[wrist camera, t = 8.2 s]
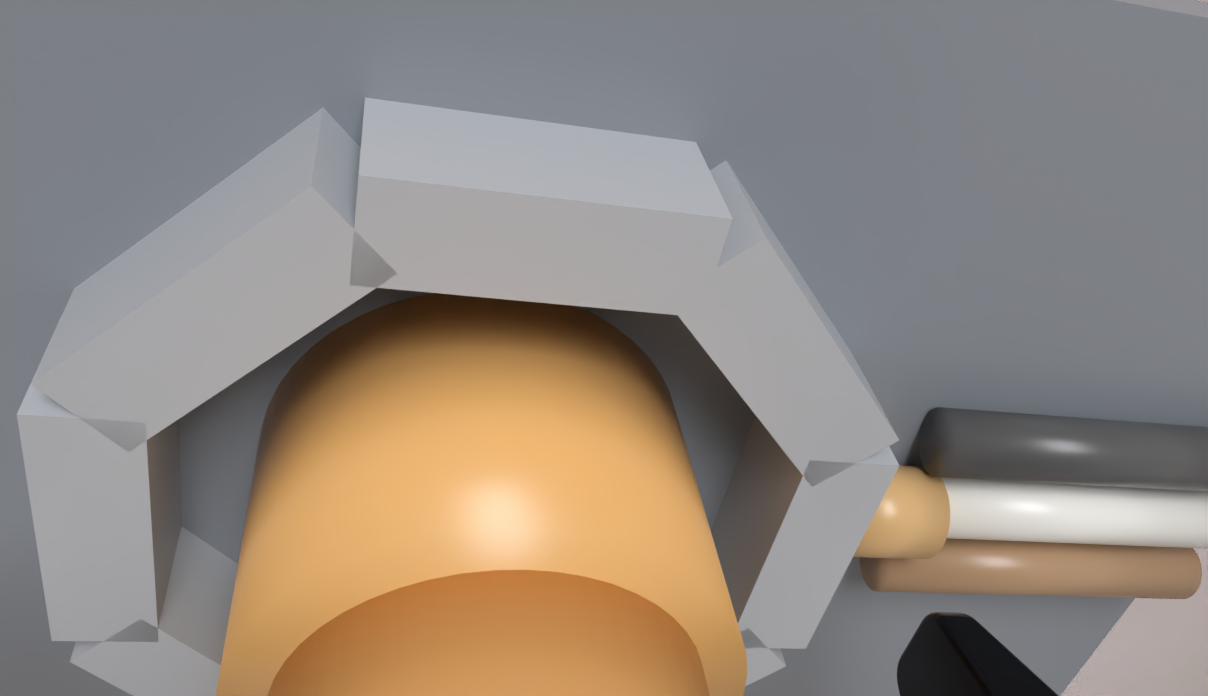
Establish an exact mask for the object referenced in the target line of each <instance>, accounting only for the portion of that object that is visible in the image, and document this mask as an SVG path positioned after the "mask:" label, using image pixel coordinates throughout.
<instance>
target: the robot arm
mask: <svg viewBox="0 0 1208 696" xmlns="http://www.w3.org/2000/svg"><path fill="white" fill-rule="evenodd" d="M897 683H898V689H899V694H900V696H1059V695H1058V694H1056V693H1055V692H1054V691H1053V690H1052V689H1051V688H1050V687H1049V686H1048V685H1047V684H1046V683H1044V682H1043V681H1042V680H1041V679H1040V678H1039V677H1038V676H1037V675H1036V674H1035V673H1033V672H1032V671H1031V670H1030V669H1029V668H1028V667H1027V666H1026V665H1025V664H1024V663H1023V662H1021V661H1020V660H1019V659H1018V658H1017V657H1016V656H1015V655H1014V654H1013V653H1012V652H1010V651H1009V650H1008V649H1007V648H1006V647H1005V646H1004V645H1003V644H1002V643H1001V642H1000V641H998V640H997V639H996V638H995V637H994V636H993V635H992V634H991V633H990V632H989V631H988V630H986V629H985V628H984V627H983V626H982V625H981V624H980V623H979V622H978V621H977V620H975V619H974V618H973V617H971V616H969V615H967V614H965V613H959V612H933V613H930V614H928V615H927V616H926V617H925V618H924V619H923V620H922V622H921V624H920V625H919V627H918V629H917V630H916V632H915V634H914V635H913V637H912V639H911V640H910V642H909V644H908V645H907V647H906V649H905V650H904V652H903V654H902V655H901V657H900V659H899V662H898V666H897Z"/></svg>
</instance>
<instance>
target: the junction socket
mask: <svg viewBox="0 0 1208 696" xmlns="http://www.w3.org/2000/svg"><path fill="white" fill-rule="evenodd" d="M432 293H440V294H451V295H462V296H473V297H484V298H495V299H506V300H517V301H528V302H539V303H550V304H560V305H571V306H575V307H577V308H580V309H582V310H585V311H588V312H590V313H592V314H593V315H595V316H597V317H599V318H601V319H602V320H604V321H606V322H608V323H610V324H612V325H613V326H614V327H616V328H617V329H618V330H620V331H621V332H622V333H624V334H625V335H626V336H628V337H629V338H630V339H632V340H633V341H634V342H635V343H636V344H637V345H638V346H639V347H640V348H641V349H642V350H643V351H644V352H645V353H646V354H647V355H648V356H649V358H650V359H651V361H652V362H653V363H654V365H655V366H656V368H657V369H658V370H659V372H660V373H661V375H662V377H663V379H664V381H665V383H666V385H667V387H668V389H669V391H670V394H671V397H672V401H673V404H674V407H675V411H676V414H677V418H678V421H679V425H680V428H681V431H682V435H683V438H684V442H685V445H686V448H687V452H688V455H689V459H690V462H691V465H692V469H693V472H694V476H695V479H696V483H697V486H698V489H699V493H700V496H701V500H702V503H703V506H704V510H705V513H706V517H707V520H708V523H709V527H710V530H711V534H712V537H713V540H714V544H715V547H716V551H717V554H718V558H719V561H720V564H721V568H722V571H723V575H724V578H725V581H726V585H727V588H728V592H729V595H730V598H731V602H732V605H733V609H734V612H735V616H736V619H737V622H738V626H739V629H740V633H741V636H742V640H743V643H744V647H745V650H746V655H747V678H746V684H745V690H744V694H743V696H900V694H899V689H898V683H897V666H898V662H899V659H900V657H901V655H902V654H903V652H904V650H905V649H906V647H907V645H908V644H909V642H910V640H911V639H912V637H913V635H914V634H915V632H916V630H917V629H918V627H919V625H920V624H921V622H922V620H923V619H924V618H925V617H926V616H927V615H928V614H930V613H933V612H959V613H965V614H967V615H969V616H971V617H973V618H974V619H975V620H977V621H978V622H979V623H980V624H981V625H982V626H983V627H984V628H985V629H986V630H988V631H989V632H990V633H991V634H992V635H993V636H994V637H995V638H996V639H997V640H998V641H1000V642H1001V643H1002V644H1003V645H1004V646H1005V647H1006V648H1007V649H1008V650H1009V651H1010V652H1012V653H1013V654H1014V655H1015V656H1016V657H1017V658H1018V659H1019V660H1020V661H1021V662H1023V663H1024V664H1025V665H1026V666H1027V667H1028V668H1029V669H1030V670H1031V671H1032V672H1033V673H1035V674H1036V675H1037V676H1038V677H1039V678H1040V679H1041V680H1042V681H1043V682H1044V683H1046V684H1047V685H1048V686H1049V687H1050V688H1051V689H1052V690H1053V691H1054V692H1055V693H1056V694H1058V695H1059V696H1060V695H1061V694H1062V692H1063V691H1064V690H1065V689H1066V687H1067V686H1068V685H1069V683H1070V682H1071V681H1072V679H1073V678H1074V677H1075V676H1076V674H1077V673H1078V672H1079V670H1080V669H1081V668H1082V666H1083V665H1084V664H1085V662H1086V661H1087V660H1088V659H1089V657H1090V656H1091V655H1092V653H1093V652H1094V651H1095V649H1096V648H1097V647H1098V646H1099V644H1100V643H1101V642H1102V640H1103V639H1104V638H1105V636H1106V635H1107V634H1108V633H1109V631H1110V630H1111V629H1112V627H1113V626H1114V625H1115V623H1116V622H1117V621H1118V619H1119V618H1120V617H1121V616H1122V614H1123V613H1124V612H1125V610H1126V609H1127V608H1128V606H1129V605H1130V604H1131V603H1132V601H1133V600H1134V599H1135V598H1159V599H1186V598H1189V597H1191V596H1192V595H1193V594H1194V593H1195V592H1196V591H1197V589H1198V587H1199V585H1200V582H1201V577H1202V569H1201V563H1200V560H1199V557H1198V555H1197V553H1196V552H1195V550H1194V549H1193V548H1204V549H1208V3H1205V2H1200V1H1194V0H0V696H216V690H217V684H218V678H219V672H220V666H221V661H222V655H223V649H224V643H225V637H226V631H227V626H228V620H229V614H230V608H231V602H232V597H233V591H234V585H235V579H236V573H237V567H238V562H239V556H240V550H241V544H242V538H243V533H244V527H245V521H246V515H247V509H248V503H249V498H250V492H251V486H252V480H253V474H254V468H255V463H256V457H257V451H258V445H259V439H260V434H261V428H262V424H263V421H264V417H265V414H266V411H267V407H268V405H269V403H270V401H271V399H272V397H273V395H274V393H275V391H276V389H277V387H278V385H279V384H280V382H281V381H282V380H283V378H284V377H285V376H286V374H287V373H288V372H289V370H290V369H291V367H292V366H293V365H294V364H295V363H296V362H297V361H298V360H299V359H300V358H301V357H302V356H303V355H304V354H305V353H306V352H307V351H308V350H309V349H310V348H311V347H312V346H314V345H315V344H316V343H318V342H319V341H320V340H321V339H323V338H324V337H325V336H327V335H328V334H329V333H331V332H332V331H334V330H335V329H337V328H339V327H341V326H342V325H344V324H346V323H348V322H349V321H351V320H353V319H355V318H356V317H358V316H361V315H363V314H365V313H368V312H370V311H373V310H375V309H377V308H380V307H382V306H384V305H388V304H391V303H394V302H398V301H401V300H405V299H408V298H411V297H415V296H421V295H426V294H432Z"/></svg>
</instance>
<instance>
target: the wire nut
mask: <svg viewBox="0 0 1208 696" xmlns="http://www.w3.org/2000/svg"><path fill="white" fill-rule="evenodd" d="M746 678H747V655H746V650H745V647H744V643H743V640H742V636H741V633H740V629H739V626H738V622H737V619H736V616H735V612H734V609H733V605H732V602H731V598H730V595H729V592H728V588H727V585H726V581H725V578H724V575H723V571H722V568H721V564H720V561H719V558H718V554H717V551H716V547H715V544H714V540H713V537H712V534H711V530H710V527H709V523H708V520H707V517H706V513H705V510H704V506H703V503H702V500H701V496H700V493H699V489H698V486H697V483H696V479H695V476H694V472H693V469H692V465H691V462H690V459H689V455H688V452H687V448H686V445H685V442H684V438H683V435H682V431H681V428H680V425H679V421H678V418H677V414H676V411H675V407H674V404H673V401H672V397H671V394H670V391H669V389H668V387H667V385H666V383H665V381H664V379H663V377H662V375H661V373H660V372H659V370H658V369H657V368H656V366H655V365H654V363H653V362H652V361H651V359H650V358H649V356H648V355H647V354H646V353H645V352H644V351H643V350H642V349H641V348H640V347H639V346H638V345H637V344H636V343H635V342H634V341H633V340H632V339H630V338H629V337H628V336H626V335H625V334H624V333H622V332H621V331H620V330H618V329H617V328H616V327H614V326H613V325H612V324H610V323H608V322H606V321H604V320H602V319H601V318H599V317H597V316H595V315H593V314H592V313H590V312H588V311H585V310H582V309H580V308H577V307H575V306H571V305H560V304H550V303H539V302H528V301H517V300H506V299H495V298H484V297H473V296H462V295H451V294H440V293H432V294H426V295H421V296H415V297H411V298H408V299H405V300H401V301H398V302H394V303H391V304H388V305H384V306H382V307H380V308H377V309H375V310H373V311H370V312H368V313H365V314H363V315H361V316H358V317H356V318H355V319H353V320H351V321H349V322H348V323H346V324H344V325H342V326H341V327H339V328H337V329H335V330H334V331H332V332H331V333H329V334H328V335H327V336H325V337H324V338H323V339H321V340H320V341H319V342H318V343H316V344H315V345H314V346H312V347H311V348H310V349H309V350H308V351H307V352H306V353H305V354H304V355H303V356H302V357H301V358H300V359H299V360H298V361H297V362H296V363H295V364H294V365H293V366H292V367H291V369H290V370H289V372H288V373H287V374H286V376H285V377H284V378H283V380H282V381H281V382H280V384H279V385H278V387H277V389H276V391H275V393H274V395H273V397H272V399H271V401H270V403H269V405H268V407H267V411H266V414H265V417H264V421H263V424H262V428H261V434H260V439H259V445H258V451H257V457H256V463H255V468H254V474H253V480H252V486H251V492H250V498H249V503H248V509H247V515H246V521H245V527H244V533H243V538H242V544H241V550H240V556H239V562H238V567H237V573H236V579H235V585H234V591H233V597H232V602H231V608H230V614H229V620H228V626H227V631H226V637H225V643H224V649H223V655H222V661H221V666H220V672H219V678H218V684H217V690H216V696H743V694H744V690H745V684H746Z"/></svg>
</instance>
